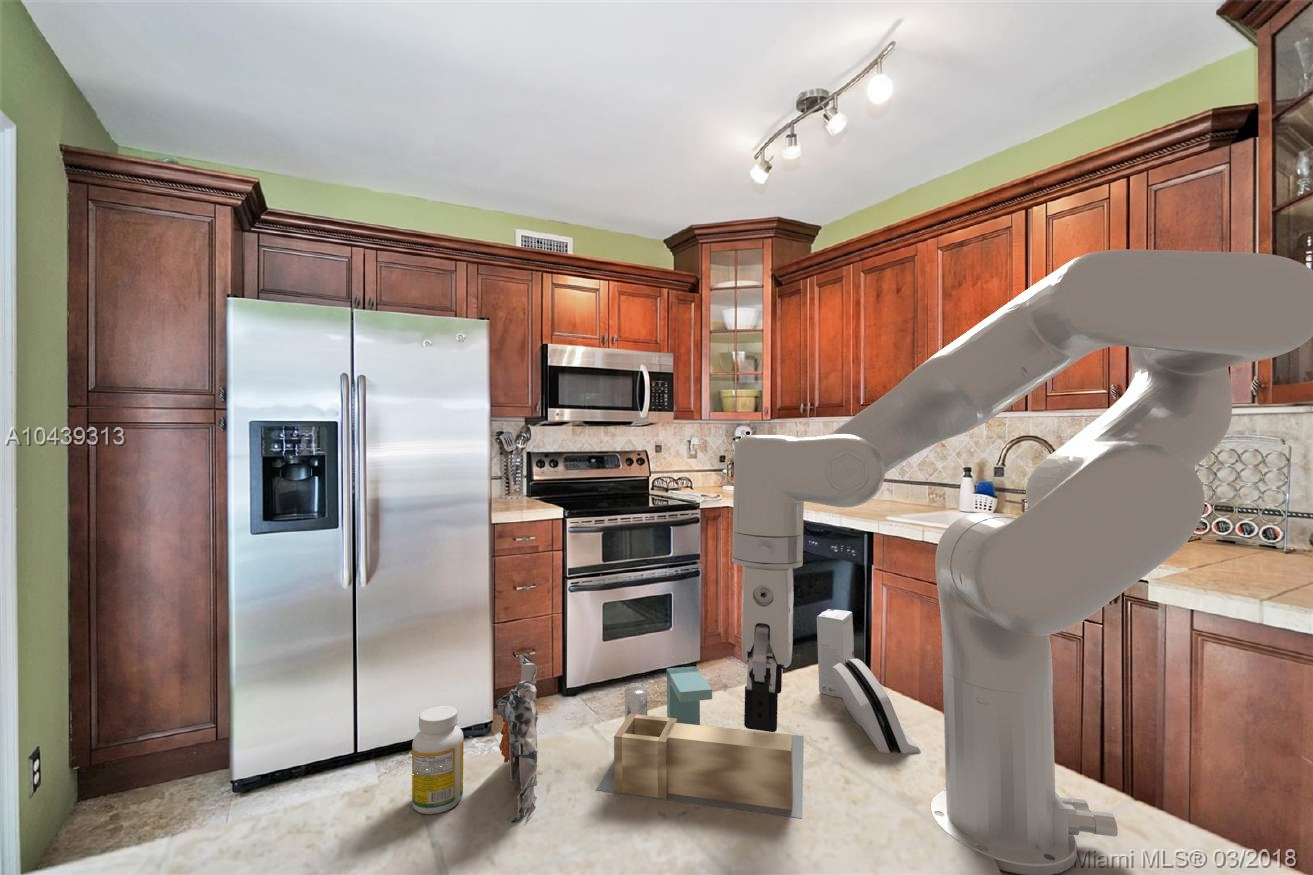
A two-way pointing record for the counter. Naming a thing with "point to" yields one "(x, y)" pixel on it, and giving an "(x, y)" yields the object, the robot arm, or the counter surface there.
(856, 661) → the white slotted curved device
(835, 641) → the skincare box
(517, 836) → the counter surface
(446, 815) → the counter surface
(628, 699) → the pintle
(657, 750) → the wooden block with hole
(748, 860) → the counter surface
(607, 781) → the plate
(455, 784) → the supplement bottle
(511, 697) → the meal
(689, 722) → the bracket
